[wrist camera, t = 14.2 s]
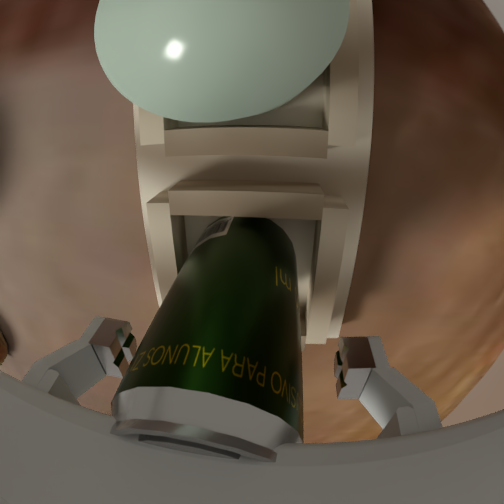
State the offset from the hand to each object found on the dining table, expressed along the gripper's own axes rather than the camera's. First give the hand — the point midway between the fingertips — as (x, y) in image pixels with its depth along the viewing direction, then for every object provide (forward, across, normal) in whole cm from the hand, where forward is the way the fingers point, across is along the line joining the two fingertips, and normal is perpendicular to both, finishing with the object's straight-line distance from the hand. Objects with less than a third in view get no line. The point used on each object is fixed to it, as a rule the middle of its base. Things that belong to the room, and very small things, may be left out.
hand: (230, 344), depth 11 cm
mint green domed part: (+7, 0, -11) cm, 13 cm away
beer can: (+7, 0, 0) cm, 7 cm away
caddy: (+8, 0, -5) cm, 9 cm away
